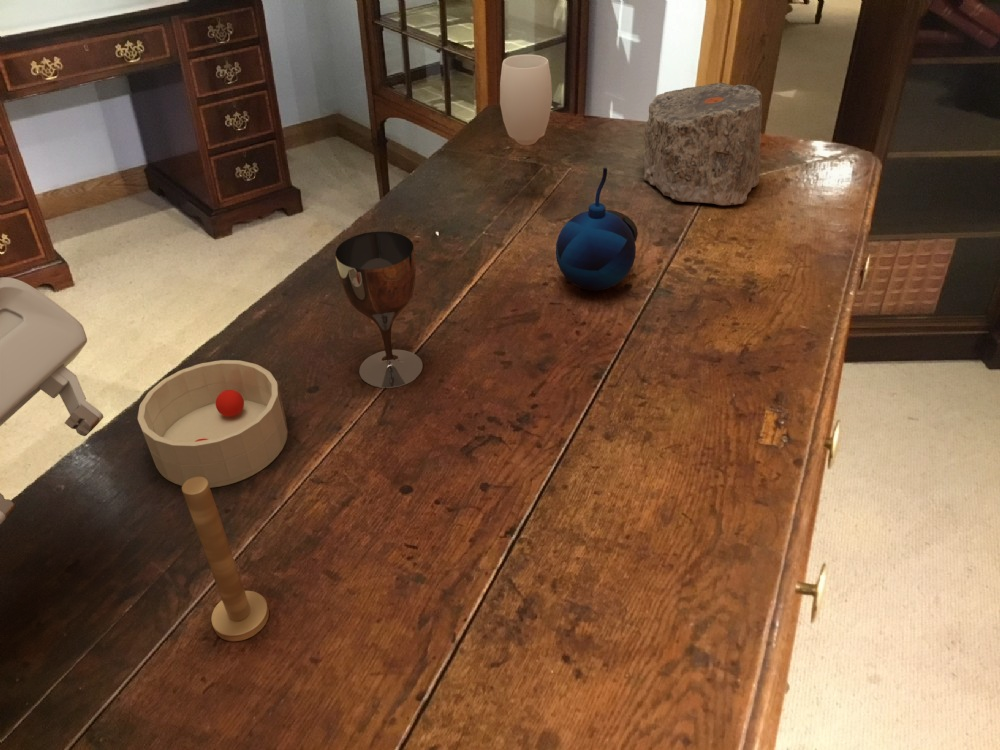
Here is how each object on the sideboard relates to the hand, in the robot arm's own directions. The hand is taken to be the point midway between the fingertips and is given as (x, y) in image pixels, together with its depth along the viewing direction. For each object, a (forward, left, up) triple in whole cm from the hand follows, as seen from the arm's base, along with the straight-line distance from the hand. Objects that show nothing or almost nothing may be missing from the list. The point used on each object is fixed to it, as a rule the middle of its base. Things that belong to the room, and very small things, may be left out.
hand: (53, 469), depth 60 cm
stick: (+10, 0, -16) cm, 19 cm away
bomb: (+39, +53, -17) cm, 68 cm away
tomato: (+1, +25, -14) cm, 29 cm away
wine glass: (+16, +34, -17) cm, 41 cm away
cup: (+29, +76, -17) cm, 83 cm away
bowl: (+1, +21, -16) cm, 27 cm away
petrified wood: (+55, +83, -17) cm, 101 cm away
